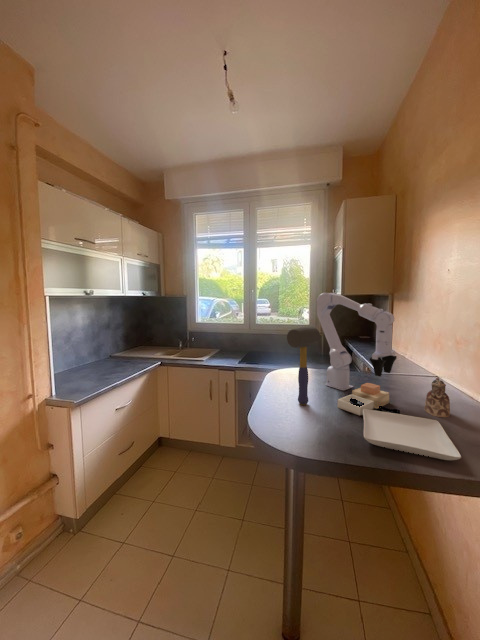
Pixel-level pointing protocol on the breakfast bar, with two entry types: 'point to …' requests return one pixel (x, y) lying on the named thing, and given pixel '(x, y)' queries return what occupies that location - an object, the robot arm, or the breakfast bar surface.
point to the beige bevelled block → (373, 397)
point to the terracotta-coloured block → (370, 388)
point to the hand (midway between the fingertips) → (382, 374)
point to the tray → (346, 405)
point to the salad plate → (408, 434)
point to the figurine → (437, 400)
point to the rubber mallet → (303, 355)
